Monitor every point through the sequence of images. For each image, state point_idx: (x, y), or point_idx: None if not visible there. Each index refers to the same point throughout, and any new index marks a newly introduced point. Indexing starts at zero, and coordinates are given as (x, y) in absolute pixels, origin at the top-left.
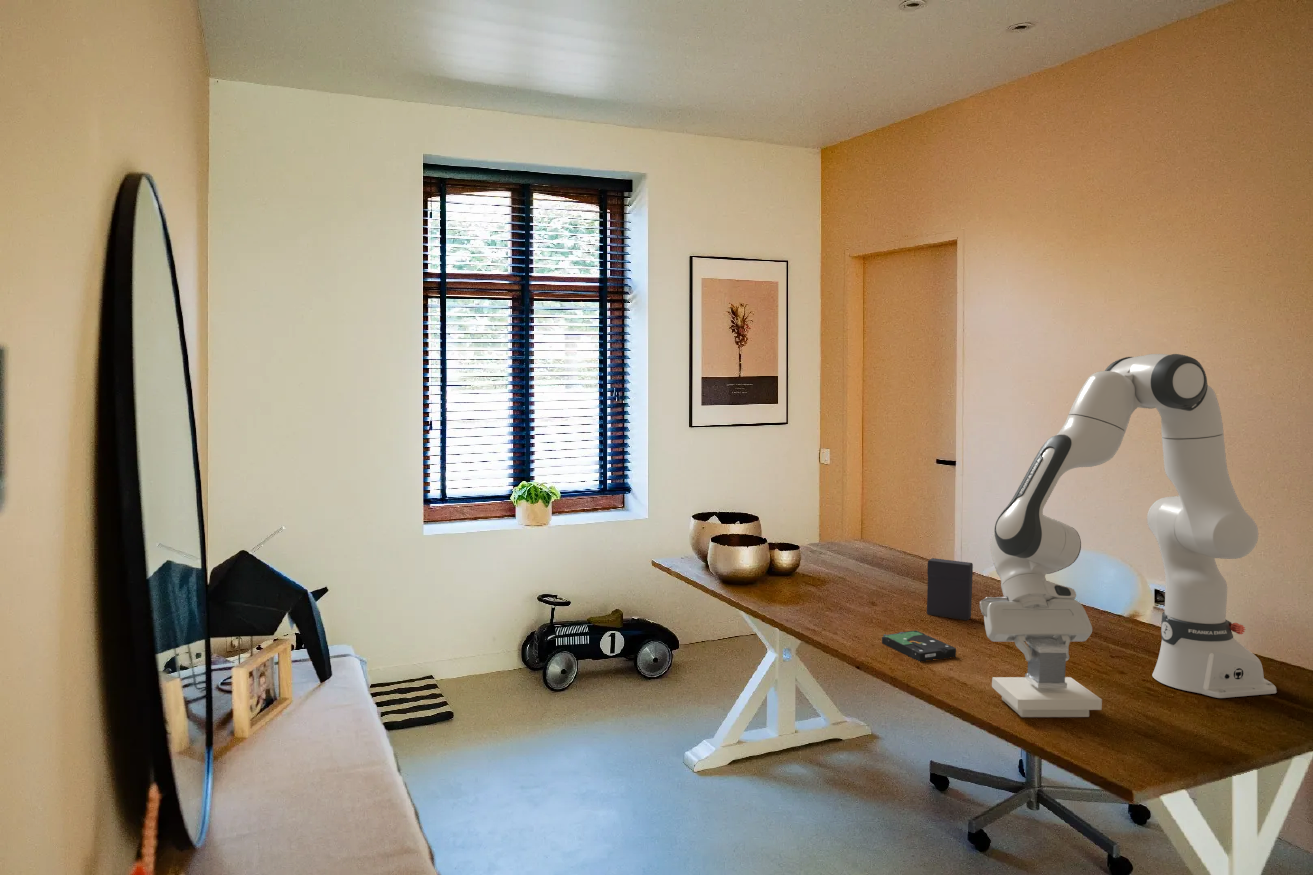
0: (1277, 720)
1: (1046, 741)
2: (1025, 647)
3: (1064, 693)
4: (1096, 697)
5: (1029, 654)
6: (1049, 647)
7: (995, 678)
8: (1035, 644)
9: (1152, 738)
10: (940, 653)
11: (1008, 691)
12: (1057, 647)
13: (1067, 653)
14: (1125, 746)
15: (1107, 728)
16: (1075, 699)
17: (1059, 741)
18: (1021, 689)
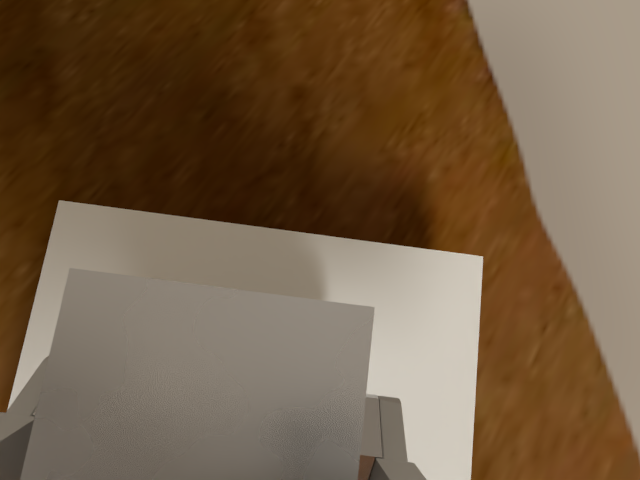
0: None
1: (440, 82)
2: (422, 475)
3: None
4: (66, 228)
5: (396, 411)
6: (270, 297)
7: None
8: (360, 415)
9: (35, 47)
10: None
11: (475, 371)
12: (184, 289)
13: (42, 375)
14: (187, 7)
15: (136, 149)
16: (194, 218)
17: (393, 75)
18: (392, 388)
